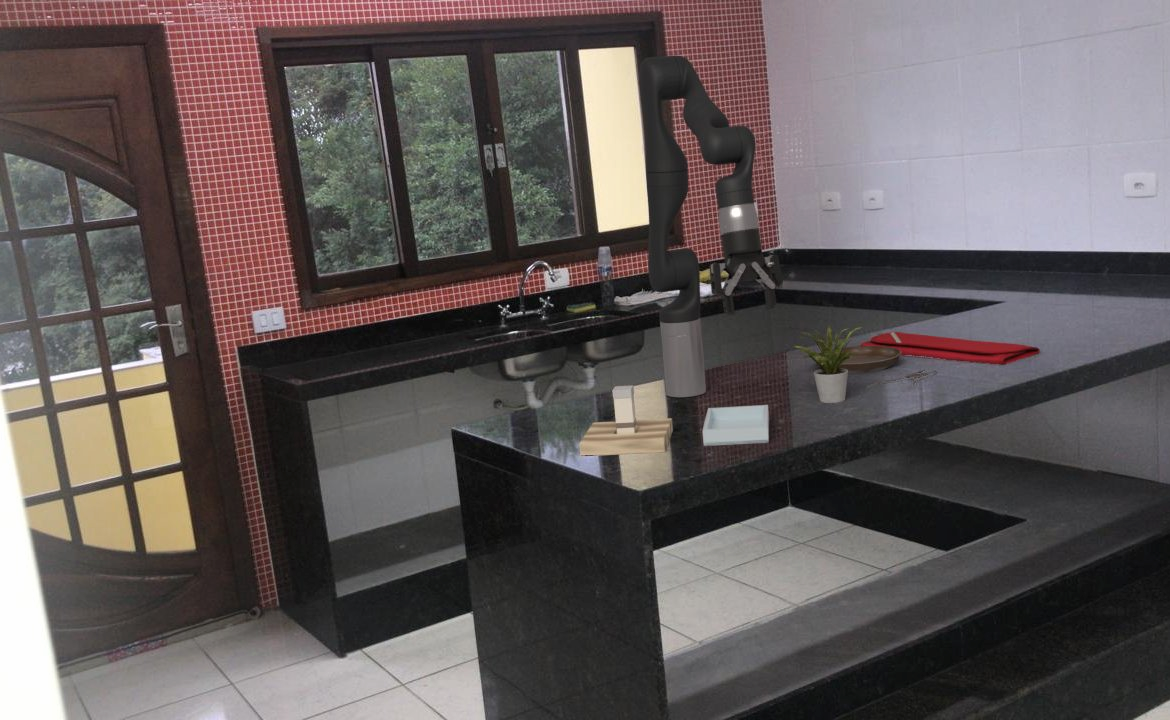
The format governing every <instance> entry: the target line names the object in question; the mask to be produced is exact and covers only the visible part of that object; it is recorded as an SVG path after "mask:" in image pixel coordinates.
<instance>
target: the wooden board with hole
mask: <svg viewBox="0 0 1170 720" xmlns="http://www.w3.org/2000/svg"><path fill="white" fill-rule="evenodd" d="M636 426H637V433H626V434H617V428H616V420H615V421H602V422H601V421H599V422H592V424H591V425H590V427H589V429H588V430H587V431H586V432H585V434H584V436H583V437H582V439H581V440H580V442H579V443H578V444H579V454H580V456H581V455H597V456H611V455H612V456H613V455H614V456H615V455H636V454H637V455H638V454H654V453H655V454H657V453H658V454H659V453H666V450H667V448H668V444H669V442H670V440H671V436H672V433H673V431H674V428H673V418H671V417H670V418H657V419H654V418H652V419H636Z"/></svg>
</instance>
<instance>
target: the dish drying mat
mask: <svg viewBox="0 0 1170 720" xmlns="http://www.w3.org/2000/svg"><path fill="white" fill-rule="evenodd" d="M859 346H885V347H892V348H896V349H899V350H900V351H901V355H912V356H913V355H914V356H924V357H925V356H926V357H933V358H940V359H946V360H945V361H951V360H956V361H955V362H962V361H969V362H968V363H973V362H980V363H979V364H985V363H989V364H988V365H996V364H999V365H1000V366H1006V365H1007V363H1008V364H1010V362H1011V363H1014V362H1017V361H1020V360H1022V358H1023V359H1026V357H1027V358H1029V357H1032V356H1036V354H1037V355H1039V354H1040V352H1041V350H1040V348H1039V347H1036V346H1031V345H1025V344H1018V343H1010V342H1008V343H1007V342H995V341H984V340H982V341H981V340H973V339H963V338H953V337H946V336H945V337H943V336H935V335H928V334H927V335H926V334H916V333H906V332H902V331H901V332H900V331H890V332H885V333H882V334H878V335H875V336H872V337H871V338H870V340H868V341H864V342H862V343H860V345H859ZM940 359H939V360H940ZM1019 359H1020V360H1019ZM1016 360H1017V361H1016ZM1013 361H1014V362H1013ZM999 365H998V366H999Z"/></svg>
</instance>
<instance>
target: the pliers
mask: <svg viewBox="0 0 1170 720" xmlns="http://www.w3.org/2000/svg"><path fill="white" fill-rule="evenodd" d="M925 370H926V369H922V370H920V371H917V372H913V373H911V374H909V375H906V376H904V377H900V378H895V379H894V378H893V379H888V380H882V381H877V382H873V383H871V384H870V385H869V384H868V385H867V386H866V389H870V388H872V387H874V386H873V385H875V386H877V385H876V384H879V385H881V384H880V383H883V384H885V383H884V382H890V381H896V380H901V379H904V378H910V377H914V379H916V378H920V377H922V375H923V376H926V375H928V374H931V373H934V372H936V373H937V370H933V371H929V372H925V373H923V374H921V375H920V374H917V373H921V372H923V371H925ZM914 379H912V380H913V381H914ZM890 383H891V382H890ZM915 383H916V380H915V381H914V382H913V385H912V384H911V385H910V386H908V387H905V388H902V389H900V390H899V392H900V391H901V390H905V389H908V388H910V387H912V386H914V385H915ZM871 386H872V387H871Z"/></svg>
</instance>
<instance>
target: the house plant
mask: <svg viewBox="0 0 1170 720" xmlns="http://www.w3.org/2000/svg"><path fill="white" fill-rule="evenodd" d="M849 328H850V327H849ZM849 328H848V327H847V328H845V329H843V330H841V331H840V333H839V332H837V333H835V336H834V341H833V337H832V336H833V333H832V332H833V331H832V329H831V326H830V325H827V328H826V329H827V332H826V340H825V338H824V337H823V336H822V335H821V334H820V333H819V331H817V330H815V329H814V328H812V330H813V331H814V332H815V333H816V334H817V335H818V336H819V337H820V339H819V338H818V337H817V336H816V335H814V334H812V333H808V332H804V331H803V332H802V331H801V333H802V334H806V335H808V336H809V337H810V338H811V339H812V340H814V342H815V343H816V345H817V346H818V348H819V350H818V352H819V353H822V354H823V355H822V354H821V355H822V356H824V357H821V356H820V355H819V354H818V353H817V352H816V351H814V349H813V350H812V349H810V348H808V347H805V346H801V345H793V347H794V348H797V349H799V350H800V351H801V352H803V353H806V354H807V355H805V356H802V357H800V358H799V359H798V361H800V360H802V359H805V358H806V359H807V358H811V359H812V360H813V361H814V362H815V363H816V365H817V366H819V367H820V368H821V369H817V370H814V372H813V377H814V379H815V384H816V389H817V394H818V397H819V402H821V403H825V404H833V403H834V404H837V403H842V402H845V400H846V393H847V385H848V384H847V383H848V376H849V375H848V374H849V373H848V370H847V369H842V368H840V366H841V364H842V363H843V362H844V361H846V360H848V359H850V358H854V357H852V356H850V357H848V356H846V355H848V354H850V353H852V352H845V353H843V354H842V352H843V350H844V348H845V347H847V345H848V344H849V343H850V341H851V340H852V339H853V338H854V337H855V335H853V333H854V332H855V331H857V330H860V329H862V328H863V326H861V327H860V326H859V327H856V328H854V329H852V330H850V331H849V332H848V333H847V334H846V335H845V337H844V338H843V339H841V340H839V338H840V336H841V334H842V333H843V332H844V331H846V330H849ZM852 335H853V336H852ZM808 336H806V337H807V338H808ZM851 336H852V337H851ZM850 337H851V338H850ZM801 338H802V339H804V337H802V336H801ZM807 338H805V340H807V342H810V343H811V341H810V340H809V339H807ZM848 339H849V340H848ZM838 340H839V341H838ZM847 341H848V342H847ZM846 342H847V343H846ZM833 343H834V344H833ZM833 347H834V348H833ZM815 348H816V349H818V348H817V347H816V346H815ZM833 349H834V352H833ZM842 349H843V350H842ZM838 350H839V351H838ZM853 353H855V352H853ZM841 354H842V355H841ZM855 354H856V353H855ZM856 355H857V354H856ZM825 360H826V361H825Z"/></svg>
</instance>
